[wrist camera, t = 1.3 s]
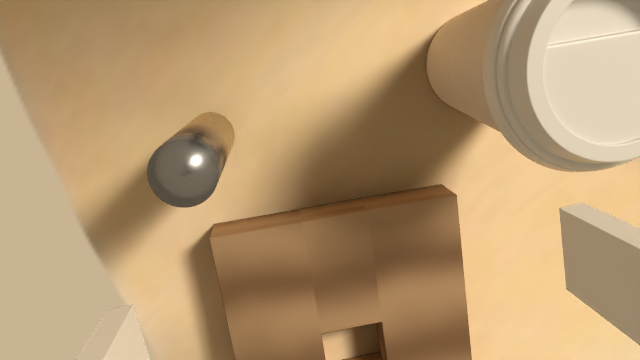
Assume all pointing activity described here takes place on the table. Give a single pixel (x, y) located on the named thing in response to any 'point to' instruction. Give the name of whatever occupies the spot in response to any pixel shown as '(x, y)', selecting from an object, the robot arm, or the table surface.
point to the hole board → (347, 277)
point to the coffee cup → (547, 77)
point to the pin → (191, 161)
